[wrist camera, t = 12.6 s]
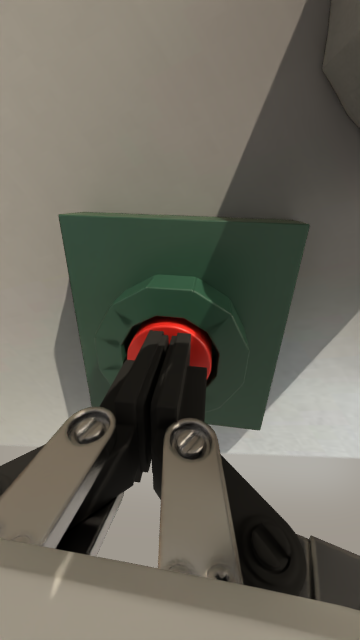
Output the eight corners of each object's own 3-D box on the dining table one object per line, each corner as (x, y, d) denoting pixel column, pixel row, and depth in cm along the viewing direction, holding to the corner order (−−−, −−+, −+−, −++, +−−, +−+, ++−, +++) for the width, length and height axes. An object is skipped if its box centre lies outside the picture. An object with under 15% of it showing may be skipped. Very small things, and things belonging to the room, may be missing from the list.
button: (208, 376, 13) (207, 401, 11) (139, 369, 13) (129, 392, 11) (215, 311, 11) (215, 329, 9) (135, 305, 11) (123, 322, 10)
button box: (254, 402, 16) (266, 460, 12) (106, 386, 17) (77, 435, 13) (293, 220, 11) (330, 229, 8) (82, 211, 12) (28, 217, 9)
